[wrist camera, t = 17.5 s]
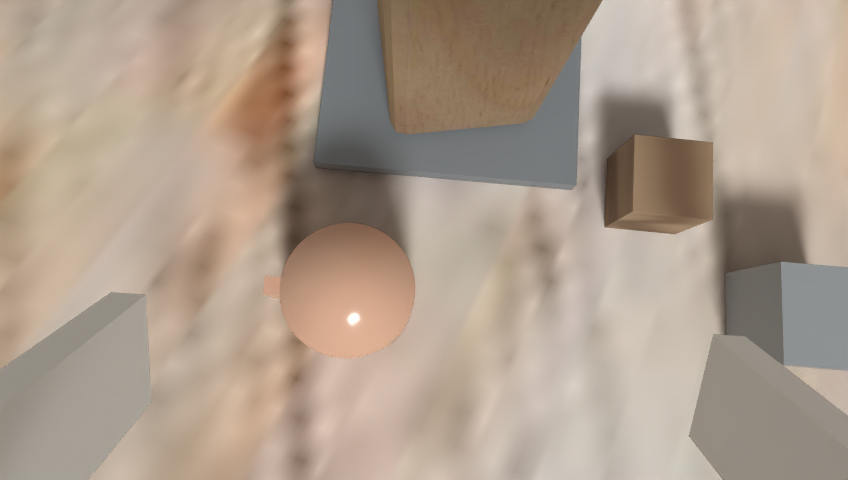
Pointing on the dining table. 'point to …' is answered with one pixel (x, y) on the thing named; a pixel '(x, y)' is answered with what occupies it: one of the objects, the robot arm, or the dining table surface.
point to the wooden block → (474, 59)
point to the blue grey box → (791, 312)
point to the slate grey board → (444, 150)
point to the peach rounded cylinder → (345, 290)
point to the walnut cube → (659, 185)
